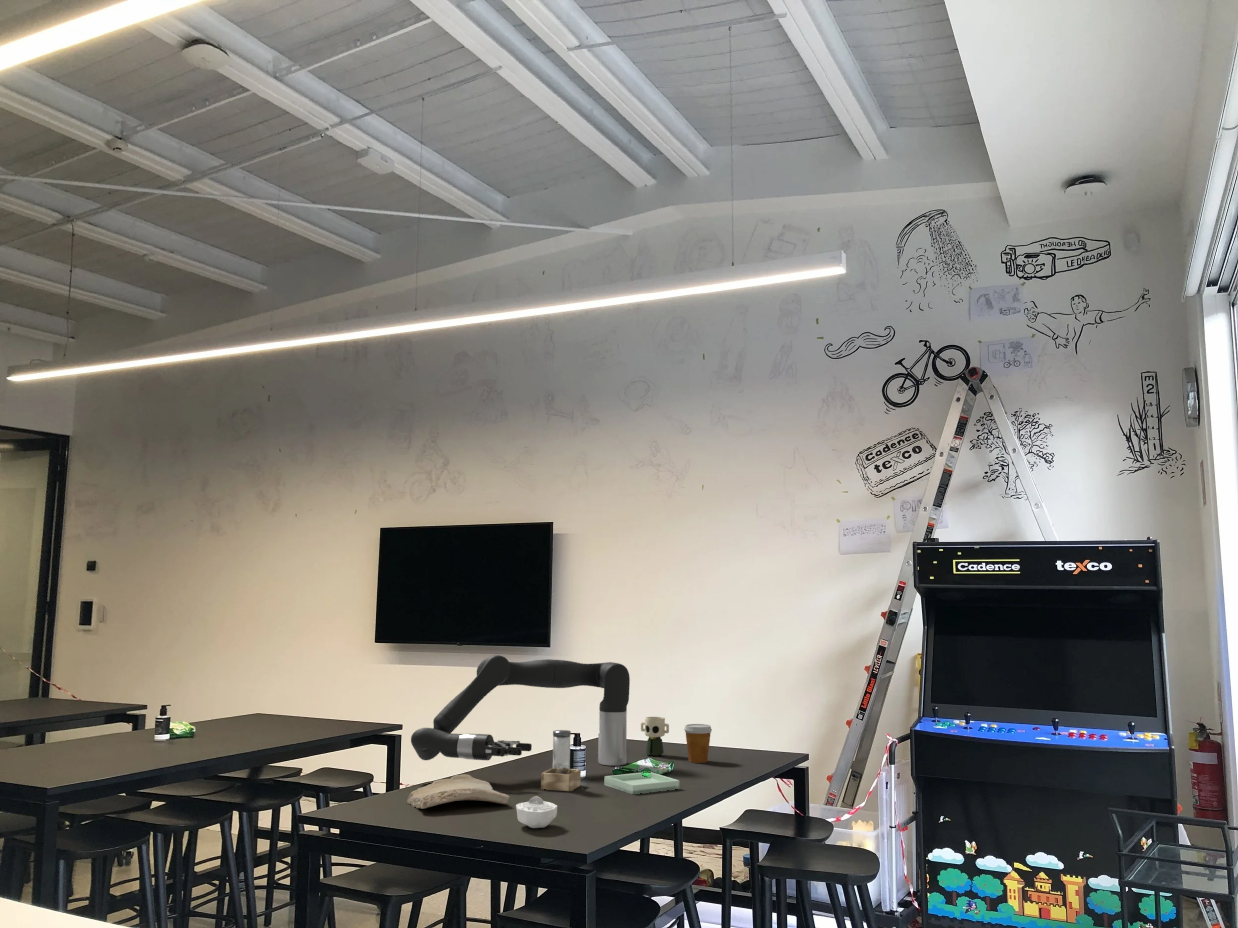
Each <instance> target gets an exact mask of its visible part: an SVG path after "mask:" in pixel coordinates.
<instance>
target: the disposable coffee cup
mask: <svg viewBox="0 0 1238 928" xmlns="http://www.w3.org/2000/svg"><path fill="white" fill-rule="evenodd" d="M683 731H684V732H685V738H686V739H685V740H686V749H687V755H688V762H690V763H693V764H705V763H708V760H709V759H708V757H709V752H710V751H709V749H710V742H711V733H712V731H713V730H712V726H711V725H710V724H704V723H689V724H685V726H684V728H683Z"/></svg>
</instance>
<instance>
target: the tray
mask: <svg viewBox="0 0 1238 928" xmlns="http://www.w3.org/2000/svg"><path fill="white" fill-rule="evenodd" d="M650 772H651V773H650V777H649V778H646V777H644V776H642V774H641V773H642V772H633V773H623V774H616V775H605V776H604V786H606V787H609V788H612V789H615V790H618V791H620V792H621V791H622V792H623V793H624V792H625V793H627V794H630V795H632V794H633V795H641V794H640V793H642V794H651V793H657V792H658V793H659V791H660V792H667V790H669V791H675V789H678V790H680V780H678V779H676V778H673V777H672V778H671V777H668V776H665V775H661V774H659V773H655V772H653V771H650ZM650 792H651V793H650Z"/></svg>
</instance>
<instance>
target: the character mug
mask: <svg viewBox="0 0 1238 928" xmlns="http://www.w3.org/2000/svg"><path fill="white" fill-rule="evenodd" d="M665 720H666V717H662V716H646V717H645V718H644V721H641V722H640V731H641V732H644V735H645V736H646V737H648V738H647V741H646V749H645V754H646V755H649V756H658V757H659V756H660V755H663V754H664V751H665V750H664V744H663V743H664V742H663V739H662V738H661V737H664V736H665V734H669V732H670V725H669V723H666V721H665Z"/></svg>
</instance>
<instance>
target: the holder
mask: <svg viewBox="0 0 1238 928" xmlns="http://www.w3.org/2000/svg"><path fill="white" fill-rule="evenodd" d="M581 773H582V771H581V769H575V768H570V774H555V773H553V767H550V768H549V769H546V770H545V771H543V772H541V774H540V775H541V776H540V777H541V778H540V790H544V789H546V791H564V792H572V791H574V790H575V789H577V788H579V787H580V786H581V778H582V777H581V776H582V775H581Z"/></svg>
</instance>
